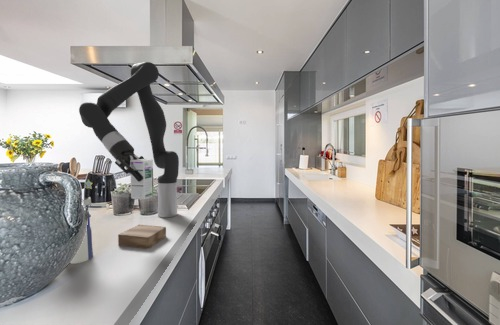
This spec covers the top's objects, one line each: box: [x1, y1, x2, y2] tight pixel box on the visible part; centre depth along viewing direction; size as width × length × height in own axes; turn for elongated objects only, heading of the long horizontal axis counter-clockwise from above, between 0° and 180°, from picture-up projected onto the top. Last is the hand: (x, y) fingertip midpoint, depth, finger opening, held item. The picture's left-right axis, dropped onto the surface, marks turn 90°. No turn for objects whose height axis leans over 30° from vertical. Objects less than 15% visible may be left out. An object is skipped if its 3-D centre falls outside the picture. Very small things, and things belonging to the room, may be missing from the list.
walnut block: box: [117, 224, 167, 249], centre depth 97 cm, size 12×12×4 cm
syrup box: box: [130, 158, 154, 200], centre depth 96 cm, size 6×6×14 cm
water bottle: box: [70, 179, 94, 265], centre depth 81 cm, size 8×9×25 cm
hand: (146, 178), depth 96 cm, fingers closed on syrup box, 5 cm apart
